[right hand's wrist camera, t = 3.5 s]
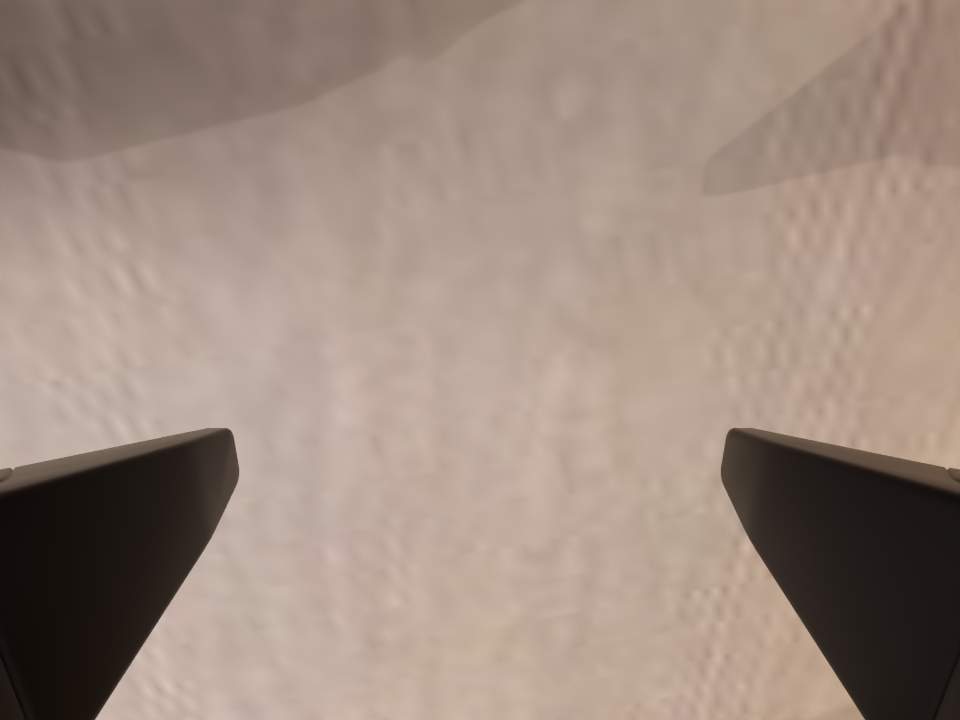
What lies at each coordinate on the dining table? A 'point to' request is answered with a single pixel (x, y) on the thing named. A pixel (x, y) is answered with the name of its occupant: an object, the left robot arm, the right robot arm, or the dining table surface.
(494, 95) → the dining table surface
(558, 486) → the dining table surface
